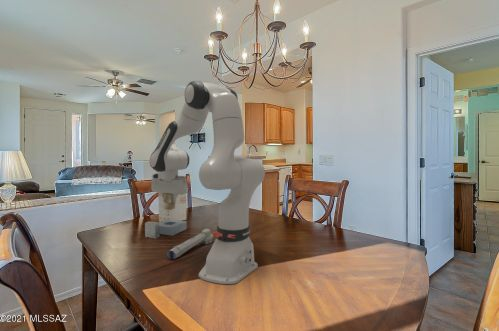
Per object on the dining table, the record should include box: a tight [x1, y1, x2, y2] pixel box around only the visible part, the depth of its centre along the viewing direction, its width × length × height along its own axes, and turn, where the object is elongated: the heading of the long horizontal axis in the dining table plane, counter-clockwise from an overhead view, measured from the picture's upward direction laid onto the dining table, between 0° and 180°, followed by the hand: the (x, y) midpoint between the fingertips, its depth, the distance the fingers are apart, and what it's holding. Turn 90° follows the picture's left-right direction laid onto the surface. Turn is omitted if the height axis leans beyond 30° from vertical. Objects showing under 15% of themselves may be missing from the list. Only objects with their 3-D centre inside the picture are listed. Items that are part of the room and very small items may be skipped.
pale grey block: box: [144, 221, 161, 239], centre depth 129 cm, size 3×6×7 cm, turn 70°
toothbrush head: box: [167, 228, 214, 261], centre depth 114 cm, size 5×7×25 cm
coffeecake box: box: [157, 193, 187, 223], centre depth 157 cm, size 15×7×20 cm, turn 144°
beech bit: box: [164, 193, 175, 210], centre depth 138 cm, size 4×4×8 cm
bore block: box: [159, 219, 188, 237], centre depth 139 cm, size 12×12×4 cm
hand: (169, 201), depth 138 cm, fingers closed on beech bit, 4 cm apart
